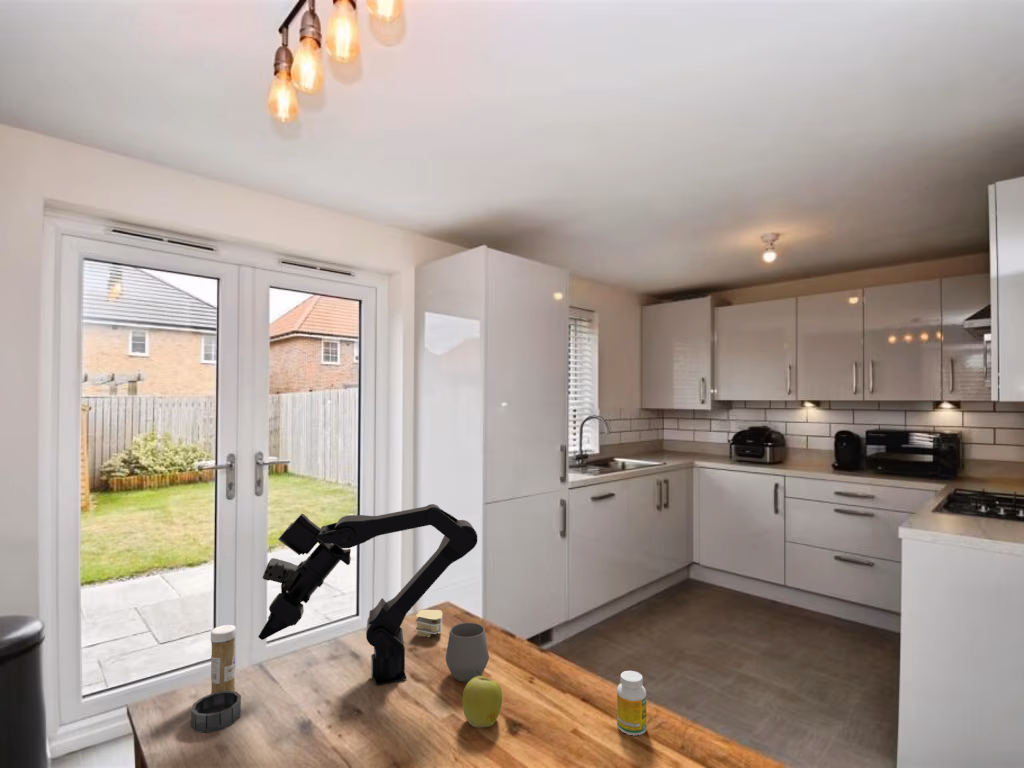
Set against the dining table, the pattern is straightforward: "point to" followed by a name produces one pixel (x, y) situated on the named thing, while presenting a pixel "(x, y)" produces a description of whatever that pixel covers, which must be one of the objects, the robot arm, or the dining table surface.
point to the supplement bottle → (631, 704)
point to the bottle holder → (215, 711)
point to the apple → (482, 701)
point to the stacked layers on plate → (429, 622)
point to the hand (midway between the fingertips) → (265, 628)
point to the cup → (467, 651)
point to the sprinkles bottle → (223, 658)
